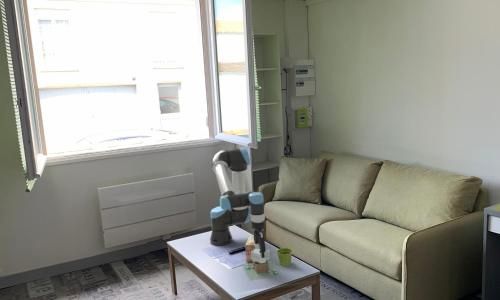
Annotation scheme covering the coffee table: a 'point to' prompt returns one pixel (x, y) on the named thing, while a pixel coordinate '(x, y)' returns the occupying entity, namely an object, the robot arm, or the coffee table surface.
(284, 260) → the plant pot
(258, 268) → the base brick
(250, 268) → the build plate
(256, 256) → the small box
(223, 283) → the coffee table surface
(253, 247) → the stack of blocks
